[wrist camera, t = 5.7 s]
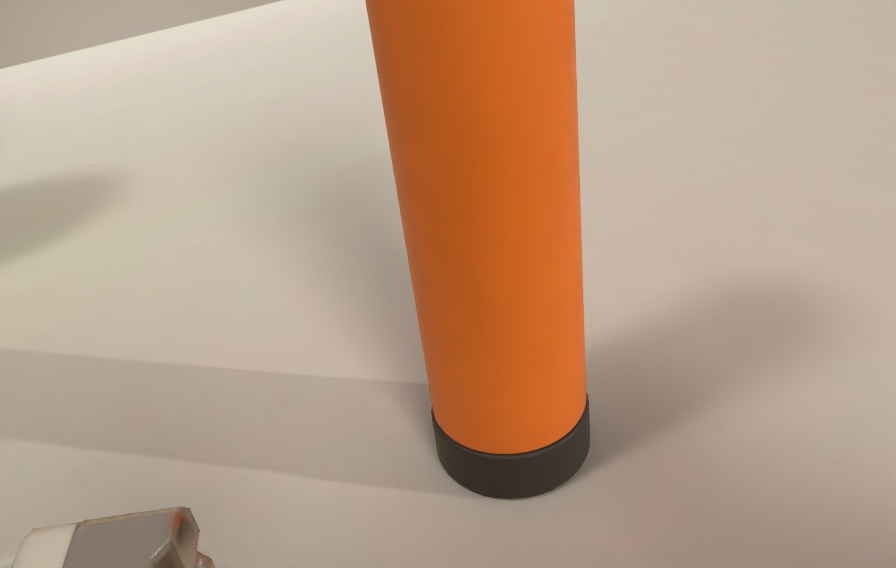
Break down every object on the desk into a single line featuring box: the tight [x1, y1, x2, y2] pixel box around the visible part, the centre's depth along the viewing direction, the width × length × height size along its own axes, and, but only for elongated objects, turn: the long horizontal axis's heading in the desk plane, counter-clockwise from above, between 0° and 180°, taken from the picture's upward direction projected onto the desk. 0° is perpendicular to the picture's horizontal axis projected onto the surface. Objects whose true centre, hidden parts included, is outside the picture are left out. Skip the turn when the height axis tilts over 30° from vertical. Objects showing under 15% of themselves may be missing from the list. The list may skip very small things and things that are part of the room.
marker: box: [366, 0, 590, 498], centre depth 15 cm, size 3×3×12 cm
